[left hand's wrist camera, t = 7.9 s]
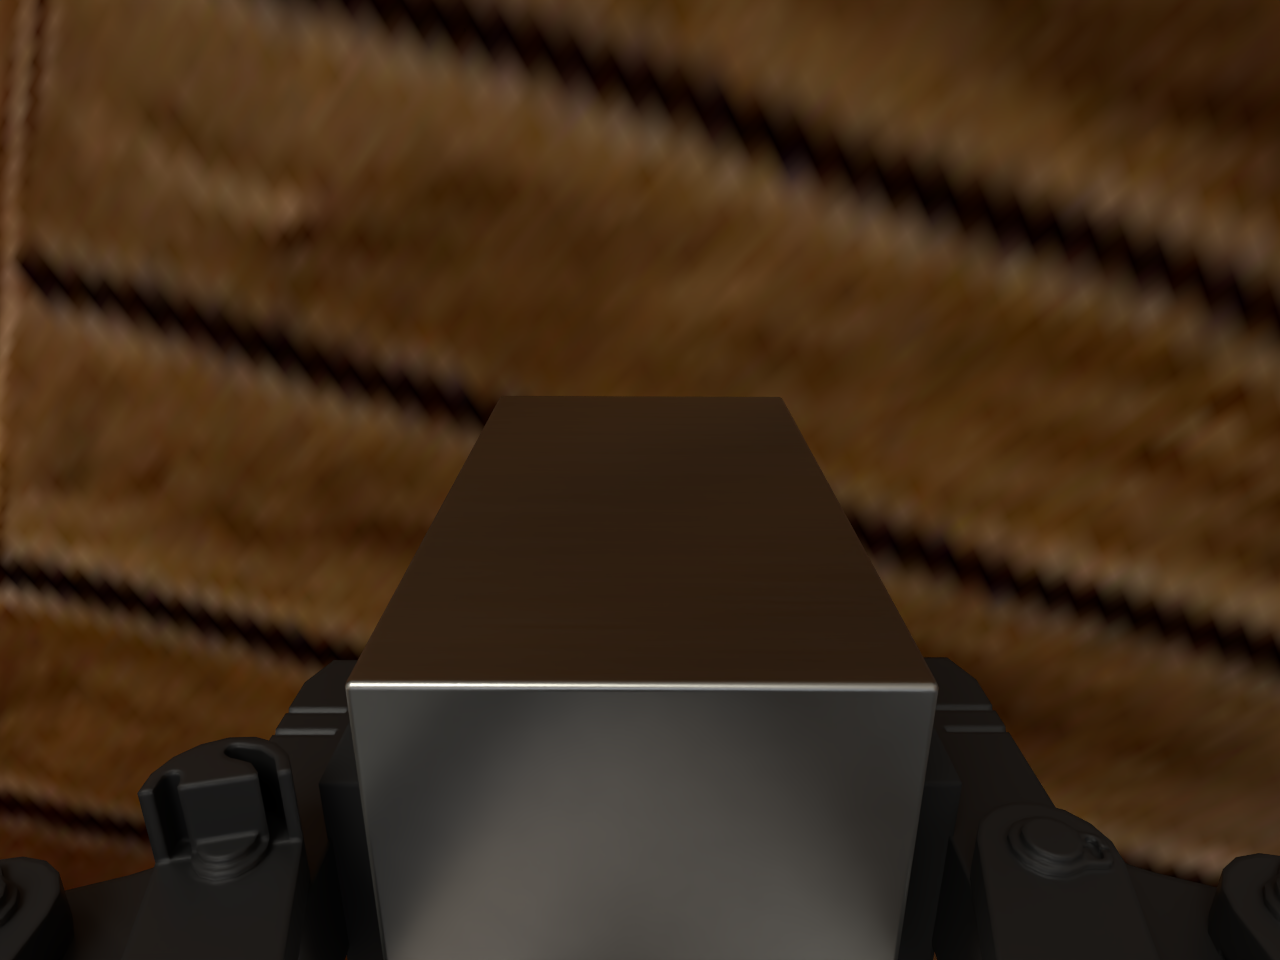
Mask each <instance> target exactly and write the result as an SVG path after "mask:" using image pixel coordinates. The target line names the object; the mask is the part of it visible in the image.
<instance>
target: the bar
mask: <svg viewBox="0 0 1280 960" xmlns="http://www.w3.org/2000/svg"><path fill="white" fill-rule="evenodd" d="M345 689H346V697H347V704H348V711H349V718H350V725H351V732H352V739H353V746H354V753H355V760H356V767H357V774H358V782H359V789H360V796H361V803H362V810H363V817H364V824H365V831H366V838H367V845H368V852H369V860H370V867H371V874H372V881H373V888H374V895H375V902H376V909H377V916H378V923H379V930H380V937H381V945H382V952H383V959H384V960H898V953H899V947H900V940H901V934H902V927H903V920H904V914H905V907H906V901H907V894H908V887H909V881H910V874H911V868H912V861H913V855H914V848H915V841H916V835H917V828H918V822H919V815H920V808H921V802H922V795H923V789H924V782H925V775H926V769H927V762H928V756H929V749H930V742H931V736H932V729H933V723H934V716H935V709H936V703H937V696H938V690H939V687H938V684H937V682H936V680H935V678H934V676H933V674H932V673H931V671H930V669H929V667H928V665H927V663H926V662H925V660H924V658H923V656H922V654H921V652H920V651H919V649H918V647H917V645H916V643H915V641H914V640H913V638H912V636H911V634H910V632H909V630H908V629H907V627H906V625H905V623H904V621H903V619H902V618H901V616H900V614H899V612H898V610H897V608H896V607H895V605H894V603H893V601H892V599H891V597H890V596H889V594H888V592H887V590H886V588H885V586H884V585H883V583H882V581H881V579H880V577H879V575H878V574H877V572H876V570H875V568H874V566H873V564H872V563H871V561H870V559H869V557H868V555H867V553H866V552H865V550H864V548H863V546H862V544H861V542H860V541H859V539H858V537H857V535H856V533H855V531H854V530H853V528H852V526H851V524H850V522H849V520H848V519H847V517H846V515H845V513H844V511H843V509H842V508H841V506H840V504H839V502H838V500H837V498H836V497H835V495H834V493H833V491H832V489H831V487H830V486H829V484H828V482H827V480H826V478H825V476H824V475H823V473H822V471H821V469H820V467H819V465H818V464H817V462H816V460H815V458H814V456H813V454H812V453H811V451H810V449H809V447H808V445H807V443H806V441H805V440H804V438H803V436H802V434H801V432H800V430H799V429H798V427H797V425H796V423H795V421H794V419H793V418H792V416H791V414H790V412H789V410H788V408H787V407H786V405H785V403H784V401H783V399H782V398H780V397H601V396H502V397H500V399H499V401H498V403H497V405H496V406H495V408H494V410H493V412H492V414H491V416H490V417H489V419H488V421H487V423H486V425H485V427H484V429H483V430H482V432H481V434H480V436H479V438H478V440H477V441H476V443H475V445H474V447H473V449H472V451H471V453H470V454H469V456H468V458H467V460H466V462H465V464H464V465H463V467H462V469H461V471H460V473H459V475H458V476H457V478H456V480H455V482H454V484H453V486H452V488H451V489H450V491H449V493H448V495H447V497H446V499H445V500H444V502H443V504H442V506H441V508H440V510H439V512H438V513H437V515H436V517H435V519H434V521H433V523H432V524H431V526H430V528H429V530H428V532H427V534H426V536H425V537H424V539H423V541H422V543H421V545H420V547H419V548H418V550H417V552H416V554H415V556H414V558H413V560H412V561H411V563H410V565H409V567H408V569H407V571H406V572H405V574H404V576H403V578H402V580H401V582H400V584H399V585H398V587H397V589H396V591H395V593H394V595H393V596H392V598H391V600H390V602H389V604H388V606H387V608H386V609H385V611H384V613H383V615H382V617H381V619H380V620H379V622H378V624H377V626H376V628H375V630H374V632H373V633H372V635H371V637H370V639H369V641H368V643H367V644H366V646H365V648H364V650H363V652H362V654H361V656H360V657H359V659H358V661H357V663H356V665H355V667H354V668H353V670H352V672H351V674H350V676H349V678H348V680H347V682H346V685H345Z"/></svg>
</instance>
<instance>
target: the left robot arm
mask: <svg viewBox="0 0 1280 960" xmlns="http://www.w3.org/2000/svg"><path fill="white" fill-rule="evenodd" d="M924 660H925V662H926V663H927V665H928V667H929V669H930V671H931V673H932V674H933V676H934V678H935V680H936V682H937V684H938V687H939V690H938V696H937V703H936V709H935V716H934V723H933V729H932V736H931V742H930V749H929V756H928V762H927V769H926V775H925V782H924V789H923V795H922V802H921V808H920V815H919V822H918V828H917V835H916V841H915V848H914V855H913V861H912V868H911V874H910V881H909V887H908V894H907V901H906V907H905V914H904V920H903V927H902V934H901V940H900V947H899V953H898V960H933V957H934V951H935V954H936V957H937V960H1280V856H1276V855H1269V854H1261V853H1257V854H1252V855H1246V856H1241V857H1236V858H1235V859H1234V860H1233V861H1231V862H1230V863H1229V864H1228V865H1227V866H1226V867H1225V868H1224V869H1223V871H1222V874H1221V877H1220V880H1219V883H1218V887H1213V886H1209V885H1204V884H1200V883H1196V882H1192V881H1188V880H1183V879H1179V878H1175V877H1171V876H1167V875H1162V874H1158V873H1154V872H1151V871H1147V870H1144V869H1141V868H1138V867H1135V866H1131V865H1128V864H1126V863H1125V862H1124V861H1123V859H1122V857H1121V856H1120V854H1119V853H1118V851H1117V849H1116V848H1115V846H1114V845H1113V843H1112V842H1111V841H1110V840H1109V839H1108V838H1107V837H1106V836H1104V835H1103V834H1102V833H1101V832H1100V831H1099V830H1097V829H1096V828H1095V827H1094V826H1093V825H1092V824H1090V823H1088V822H1086V821H1084V820H1083V819H1081V818H1079V817H1077V816H1075V815H1073V814H1071V813H1069V812H1067V811H1065V810H1062V809H1058V808H1055V806H1054V804H1053V803H1052V801H1051V799H1050V798H1049V796H1048V795H1047V793H1046V791H1045V790H1044V788H1043V787H1042V785H1041V783H1040V782H1039V780H1038V779H1037V777H1036V775H1035V774H1034V772H1033V770H1032V769H1031V767H1030V766H1029V764H1028V762H1027V761H1026V759H1025V758H1024V756H1023V754H1022V753H1021V751H1020V750H1019V748H1018V746H1017V745H1016V743H1015V742H1014V740H1013V738H1012V737H1011V735H1010V733H1009V732H1006V730H1005V725H1004V724H1003V722H1002V721H1001V719H1000V717H999V716H998V714H997V713H996V711H993V710H992V704H991V703H990V701H989V700H988V698H987V696H986V695H985V693H984V692H983V690H982V688H981V687H980V685H979V684H978V682H977V680H976V679H975V678H973V677H972V676H971V675H969V674H968V673H967V672H965V671H964V670H963V669H961V668H960V667H959V666H957V665H956V664H955V663H953V662H952V661H951V660H950V659H948V658H924ZM357 661H358V660H334V661H332V662H331V663H330V664H328V665H327V666H326V667H324V668H323V669H322V670H321V671H319V672H318V673H317V674H315V675H314V676H313V677H311V678H310V679H309V680H307V681H306V682H305V683H304V685H303V686H302V688H301V690H300V691H299V693H298V695H297V696H296V698H295V699H294V701H293V703H292V704H291V706H290V708H289V713H286V714H285V716H284V717H283V719H282V720H281V722H280V724H279V725H278V727H277V729H276V734H275V735H272V737H271V738H270V740H269V741H268V740H265V739H261V738H257V737H233V738H226V739H222V740H217V741H213V742H209V743H205V744H201V745H199V746H197V747H194V748H192V749H190V750H188V751H186V752H184V753H181V754H179V755H177V756H175V757H173V758H172V759H170V760H169V761H168V762H166V763H165V764H164V765H163V766H161V767H160V768H159V769H157V770H156V771H155V772H153V773H152V774H151V775H150V776H149V778H148V779H147V781H146V782H145V783H144V785H143V786H142V788H141V789H140V790H139V792H138V797H139V801H140V805H141V809H142V812H143V816H144V820H145V824H146V828H147V832H148V835H149V839H150V843H151V847H152V851H153V855H154V858H155V862H156V864H155V866H154V868H151V869H148V870H145V871H142V872H138V873H135V874H132V875H129V876H125V877H120V878H116V879H112V880H108V881H104V882H99V883H95V884H91V885H87V886H83V887H78V888H74V889H70V890H66V891H65V890H64V887H63V884H62V881H61V878H60V875H59V872H58V871H56V870H55V869H54V868H53V867H52V866H51V865H50V864H49V863H48V862H47V861H44V860H38V859H33V858H27V857H17V858H9V859H2V860H0V960H345V957H346V955H347V959H348V960H384V959H383V952H382V945H381V937H380V930H379V923H378V916H377V909H376V902H375V895H374V888H373V881H372V874H371V867H370V860H369V852H368V845H367V838H366V831H365V824H364V817H363V810H362V803H361V796H360V789H359V782H358V774H357V767H356V760H355V753H354V746H353V739H352V732H351V725H350V718H349V711H348V704H347V697H346V689H345V685H346V682H347V680H348V678H349V676H350V674H351V672H352V670H353V668H354V667H355V665H356V663H357Z"/></svg>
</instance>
